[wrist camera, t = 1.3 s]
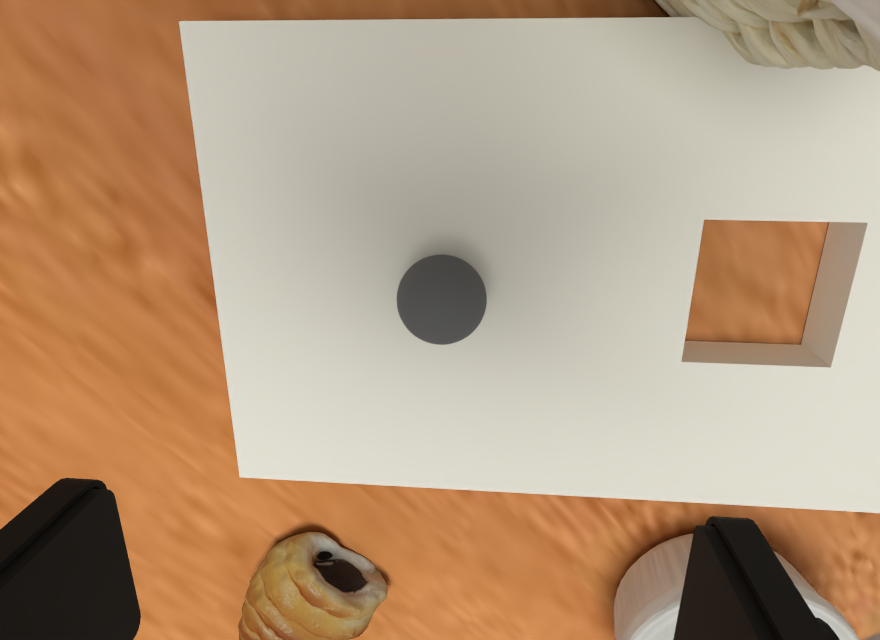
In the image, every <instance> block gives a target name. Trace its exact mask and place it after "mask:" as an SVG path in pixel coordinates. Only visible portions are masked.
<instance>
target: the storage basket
mask: <svg viewBox="0 0 880 640" xmlns="http://www.w3.org/2000/svg"><path fill="white" fill-rule="evenodd" d="M655 1H656V2H657V3H658V4H659V5H660V6H661V7H662V8H663V9H664V10H665V11H666V12H667V13H668V14H669V15H670V16H671V17H699V18H700V19H702V20H703V21H704V22H706V23H707V24H708V25H710V26H713V27H715V28H717V29H719V30H721V31H722V32H723V34H724V35H725V37H726V38H727V39H728V41H729V42H730V43H731V45H732V46H733V47H734V49H735V50H736V51H737V52H738V53H739V54H740V55H741V56H742V57H743V58H744V59H745V60H746V61H747V62H749V63H751V64H755V65H762V66H764V67H778V68H782V69H791V68H794V67H797V68H804V67H809V66H810V67H813V68H817V69H821V70H822V69H832V68H834V67H837V68H838V69H855V68H859V67H861V66H863V65H866V66H869V67H872V68H873V69H875V70H877V71H880V0H655Z"/></svg>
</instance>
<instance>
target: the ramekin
mask: <svg viewBox="0 0 880 640" xmlns="http://www.w3.org/2000/svg"><path fill="white" fill-rule="evenodd" d="M692 539H693V533H692V534H687V535H682V536H678V537H675V538H672V539H670V540H667V541H665V542H663V543H661V544H659V545H657V546H655V547H653V548H652V549H650V550H649V551H647V552H646V553H645V554H643V555H642V556H641V557H640V558H639V559H638V560H637V561H636V562H635V563H634V564H633V565H632V566H631V567H630V568H629V569H628V571H627V572H626V574H625V576H624V577H623V578H622V580H621V582H620V585H619V587H618V589H617V593H616V597H615V600H614V627H615V640H673V639H674V633H675V628H676V623H677V617H678V612H679V607H680V602H681V596H682V591H683V586H684V581H685V575H686V570H687V565H688V560H689V554H690V549H691V544H692ZM773 552H774V551H773ZM774 553H775V555H776V556H777V558H778V559H779V561H780V563H781V564H782V566H783V567H784V569H785V570H786V572H787V574H788V575H789V577H790V578H791V580H792V581H793V583H794V585H795V586H796V588H797V589H798V591H799V592H800V594H801V596H802V597H803V599H804V600H805V602H806V603H807V605H808V607H809V608H810V610H811V611H812V613H813V614H814V616H815V618H820V619H822V620H823V621H825V622H826V623H828V625H829V626H830V627H831V628H832V629H833V631H834V632H835V633H836V635H837V636H838V638H839V639H840V640H859V638H858V636H857V635H856V633H855V631H854V630H853V628H852V627H851V626H850V624H849V623H848V621H847V620H846V619H845V618H844V616H843V615H842V614H841V613H840V612H839V611H838V610H837V609H836V608H835V607H834V606H833V605H831V604H830V603H829V602H828V601H826V600H825V599H823V598H822V597H821V596H820V595H819V594H818V593H817V592H816V591H815V590H814V589H813V588H812V587H811V586H810V584H809V583H808V582H807V581H806V580H805V579H804V578H803V577H802V576H801V575H800V574H799V572H798V571H797V570H796V569H795V568H794V567H793V566H792V565H791V564H790V563H789V562H787V561H786V560H785V559H784V558H783V557H782V556H781V555H780V554H778V553H776V552H774Z"/></svg>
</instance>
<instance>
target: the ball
mask: <svg viewBox="0 0 880 640" xmlns="http://www.w3.org/2000/svg"><path fill="white" fill-rule="evenodd" d="M486 304H487V295H486V289H485V286H484V283H483V281H482V278H481V277H480V275H479V274H478V272H477V271H476V270H475V269H474V268H473V267H472V266H471V265H470V264H469V263H467V262H466V261H464V260H462V259H460V258H458V257H455V256H451V255H443V254H441V255H432V256H429V257H425V258H423V259H421V260H419V261H418V262H416V263H415V264H413V265H412V266H411V267H410V268H409V269H408V270H407V271H406V273H405V274H404V276H403V277H402V279H401V281H400V284H399V287H398V291H397V309H398V313H399V316H400V318H401V320H402V322H403V324H404V325H405V326H406V328H407V329H408V330H409V331H410V332H411V333H412V334H413V335H414V336H416V337H417V338H419V339H421V340H423V341H425V342H428V343H431V344H437V345H446V344H452V343H456V342H458V341H460V340H463V339H464V338H466V337H468V336H469V335H470V334H471V333H472V332H473V331H474V330H475V329H476V328H477V327H478V325H479V324H480V322H481V321H482V319H483V316H484V314H485V310H486Z"/></svg>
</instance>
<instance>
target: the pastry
mask: <svg viewBox="0 0 880 640" xmlns="http://www.w3.org/2000/svg"><path fill="white" fill-rule="evenodd" d="M386 597H387V585H386V582H385V580H384V579H383V577H382V574H381V572H380V571H378V570H376V568H375V565H374V564H373V563H372V562H370V561H369V560H368V559H366V558H365V557H363V556H361V555H359V554H357V553H355V552H353V551H351V550H348V549H345V548H343V547H341V546H339V545H338V543H336V542H335V541H334V540H333V539H331V538H330V537H328V536H327V535H325V534H323V533H320V532H306V533H302V534H298V535H295V536H291V537H289V538H286V539H285V540H283V541H281V542H280V543H278V544H277V545H275V546H274V547H273V548H272V549H271V550H270V551H269V552H268V554H267V556H266V558H265V560H264V562H263V563H262V564H261V566H260V568H259V569H258V570H257V572H256V573H255V574H254V576H253V577H252V579H251V581H250V586H249V588H248V590H247V593H246V595H245V602H244V604H243V607H242V618H241V620H240V622H239V626H238V628H239V640H349V639H353V638H356V637H358V636H360V635H361V634H362V633H363V632H364V631H365V630H366V628H367V627H368V624H369V622H370V620H371V618H372V615H373V613H374V611H375V610H376V608H377V607H378V605H379V604H380V603H381V602H382V601H384V600H385V599H386Z"/></svg>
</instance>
